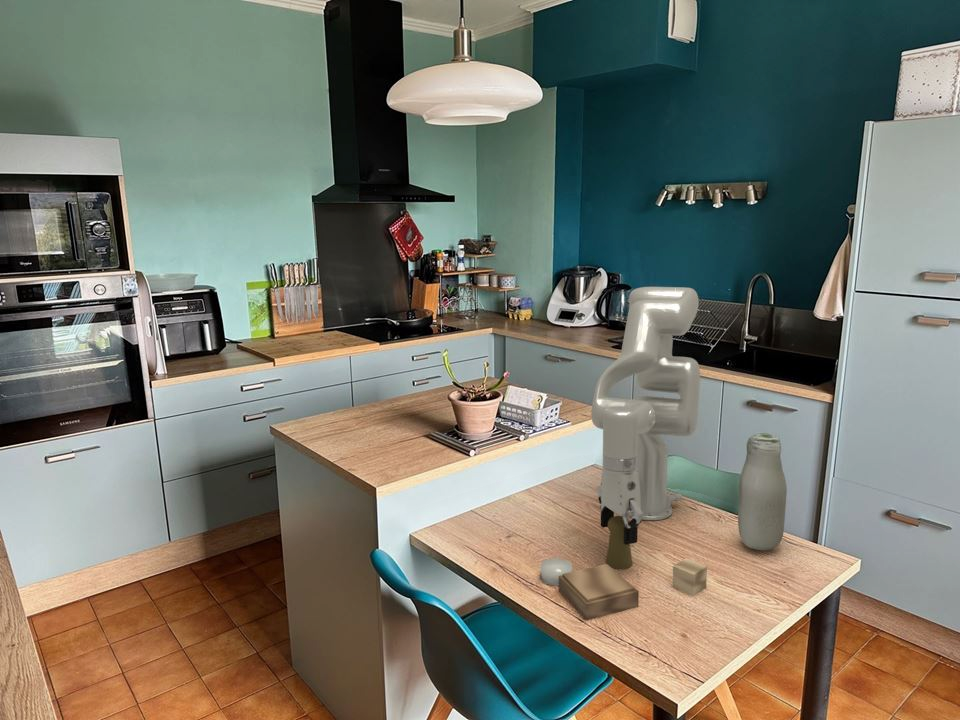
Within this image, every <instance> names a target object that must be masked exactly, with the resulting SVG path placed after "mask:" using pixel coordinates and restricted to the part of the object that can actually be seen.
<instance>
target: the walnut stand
mask: <svg viewBox="0 0 960 720" xmlns="http://www.w3.org/2000/svg"><path fill="white" fill-rule="evenodd" d="M558 591H559V593H561V594H562V596H563V597H564V598H565V599H566V600H567V601H568V602H569V603H570V604H571V605H572V606H573V608H575V610H577V611H578V612H579V614H580V615H581V616H582V617H583V618H584V619H585V620H586V621H588V620H593V619H596V618H599V617H604V616H607V615H612V614H615V613H619V612H623V611H627V610H631V609H634V608H638V607H639V597H640V595H639V594H640V593H639V592H640V591H639V590H638V589H637V588H636V587H634V586H633V585H632V584H631V583H630V582H629V581H628V580H626V579H625V578H624V577H623V576H622V575H621V574H619V573H618V572H617V571H616V569H613V568H611V567H610V566H609V565H608V564H606V563H604V564H600V565H595V566H592V567H588V568H583V569H579V570H575V571H572V572H570V573H565V574H563V575H561V576H559V586H558Z"/></svg>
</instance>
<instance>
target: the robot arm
mask: <svg viewBox="0 0 960 720" xmlns="http://www.w3.org/2000/svg"><path fill="white" fill-rule="evenodd" d="M699 302H700V301H699V296H698V293H697V291H696V290H695V289H694V288H691V287H682V286H681V287H678V286H677V287H676V286H673V287H672V286H643V287H637V288H634V289H632V291H631V292H630V293H629V297H628V305H629V309H628V312H627V317H626V323H625V329H624V334H623V340H622V345H621V352H620V354H619V356H618V358H617V359H616V360H614V361H613V362H612V363H611V364H610V365H608V367H606V369H605V370H604V371H603V373H602V374H601V376H600V377H599V379H598V381H597V382H596V385H595V389H594V394H593V397H592V404H591V411H590V412H591V414H590V415H591V417H590V418H591V421H592V422H591V423H592V424H593V426H595V427H596V428H597V429H601V430H602V471H601V476H600V477H601V480H600V486H598V487H596V491H597V495H598V497H597V498H598V502H599V510H600V527H601V529H602V528H603V529H604V528H608V521H609V520H610V518H612V517H614V516H615V514H616V515H617V516H621V517H623V520H624V523H625V525H626V527H624V544H625V545H628V544H630V545H633V544H636V543H637V542H638V531H639V530H638V529H639V528H638V527H640V525H641V524H642V521H643V520H644V521H661V520H664V519H667V518H669V517H670V516H672V514H673V507H672V505H671V504H672V503H673V502H680V501H682V500H683V496H682V494H681V493H674V494H672V493H673V492H671V491H668V454H669V453H668V447H667V444H666V442H665V441H664V439H663V437H662V436H661V435H663V436H664V435H665V436H673V437H690V436H692V435H694V433H695V431H696V430H697V429H696V428H697V426H698V425H697V424H698V417H699V415H698V413H699V403H700V402H699V400H700V399H699V398H700V387H701V370H700V365H699V363H698V361H697V360H696V359H695V358H692V357H687V356H673V342H674V339H673V336H683V335H685V334H686V333H688V332H689V330H690V328H691V326H692V324H693V322H694V320H695V318H696V316H697V313H698V309H699ZM635 375H636V382H637V383H636V384H637V386H638V387H639V388H640V389H642V390H644V391H647V392H649V391H650V392H656V393H657V392H658V393H667V394H668V393H669V394H677V395H679V398H673V397H664V396H662V397H661V396H650V395H649V396H648V395H646V396H645V395H642V396H641V395H640V396H637V397H634V398H633V399H628V398H620V397H619V398H617V397H609V395H610V392H611V390H612V389H613V388H614V386H616V385H617V384H618V383H619V382H620V381H622V380H624V379H626V378H629V377H631V376H635ZM629 517H631V519H629ZM629 521H630V522H629Z"/></svg>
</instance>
